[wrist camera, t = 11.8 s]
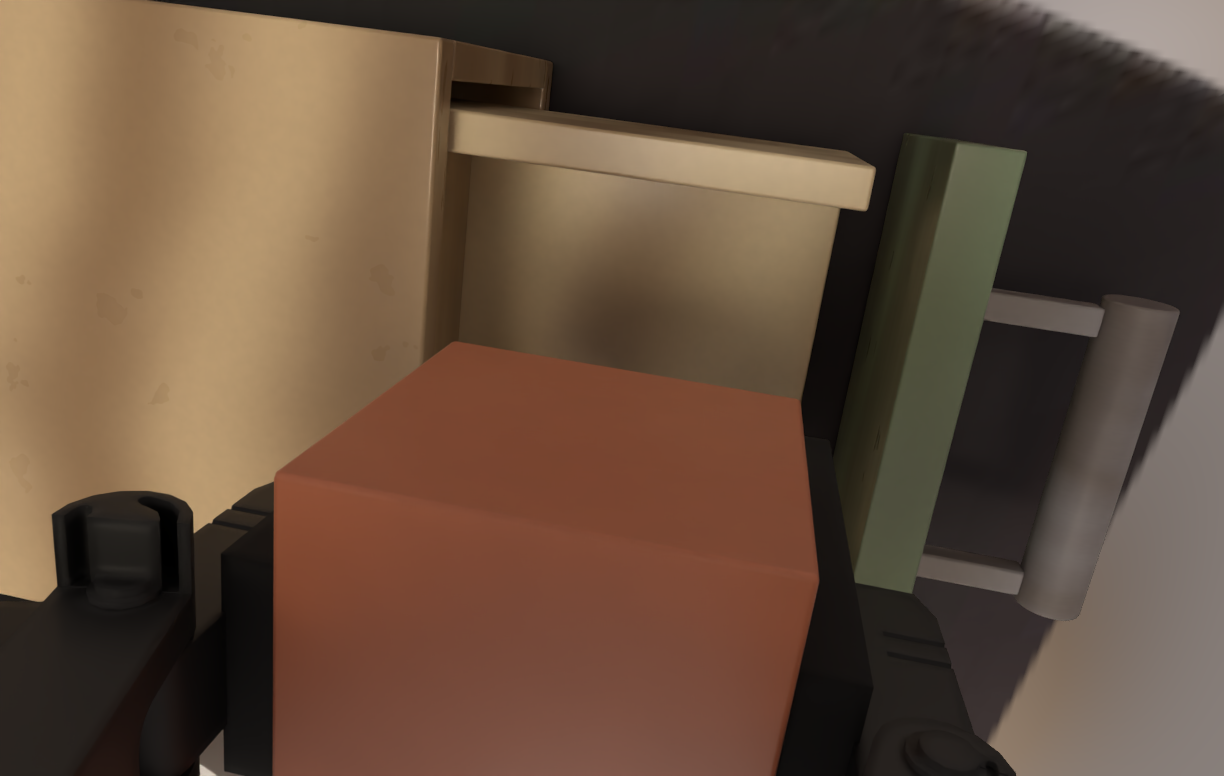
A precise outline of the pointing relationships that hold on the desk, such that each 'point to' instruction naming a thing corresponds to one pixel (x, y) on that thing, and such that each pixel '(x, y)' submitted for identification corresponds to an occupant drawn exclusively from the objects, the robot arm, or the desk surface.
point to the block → (542, 576)
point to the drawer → (794, 308)
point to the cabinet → (209, 244)
